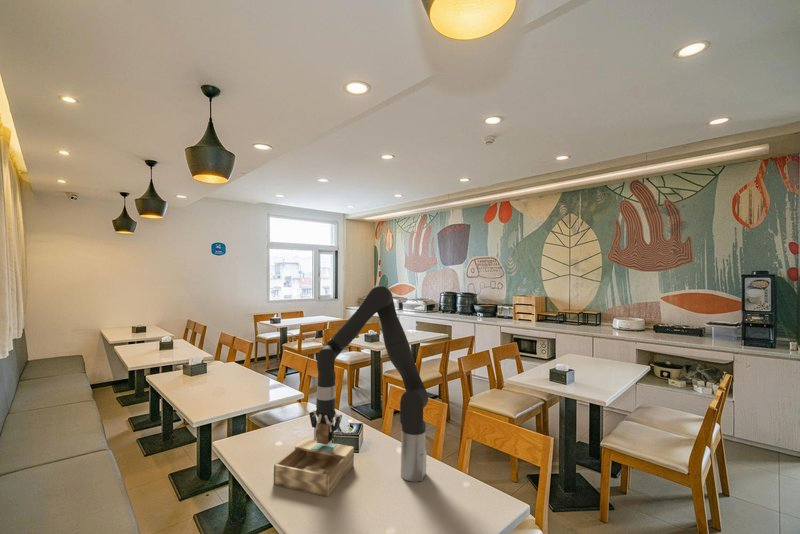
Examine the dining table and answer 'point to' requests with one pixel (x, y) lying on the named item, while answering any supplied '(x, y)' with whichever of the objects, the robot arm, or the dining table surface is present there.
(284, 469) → the crate
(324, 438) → the block
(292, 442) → the dining table surface
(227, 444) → the dining table surface
